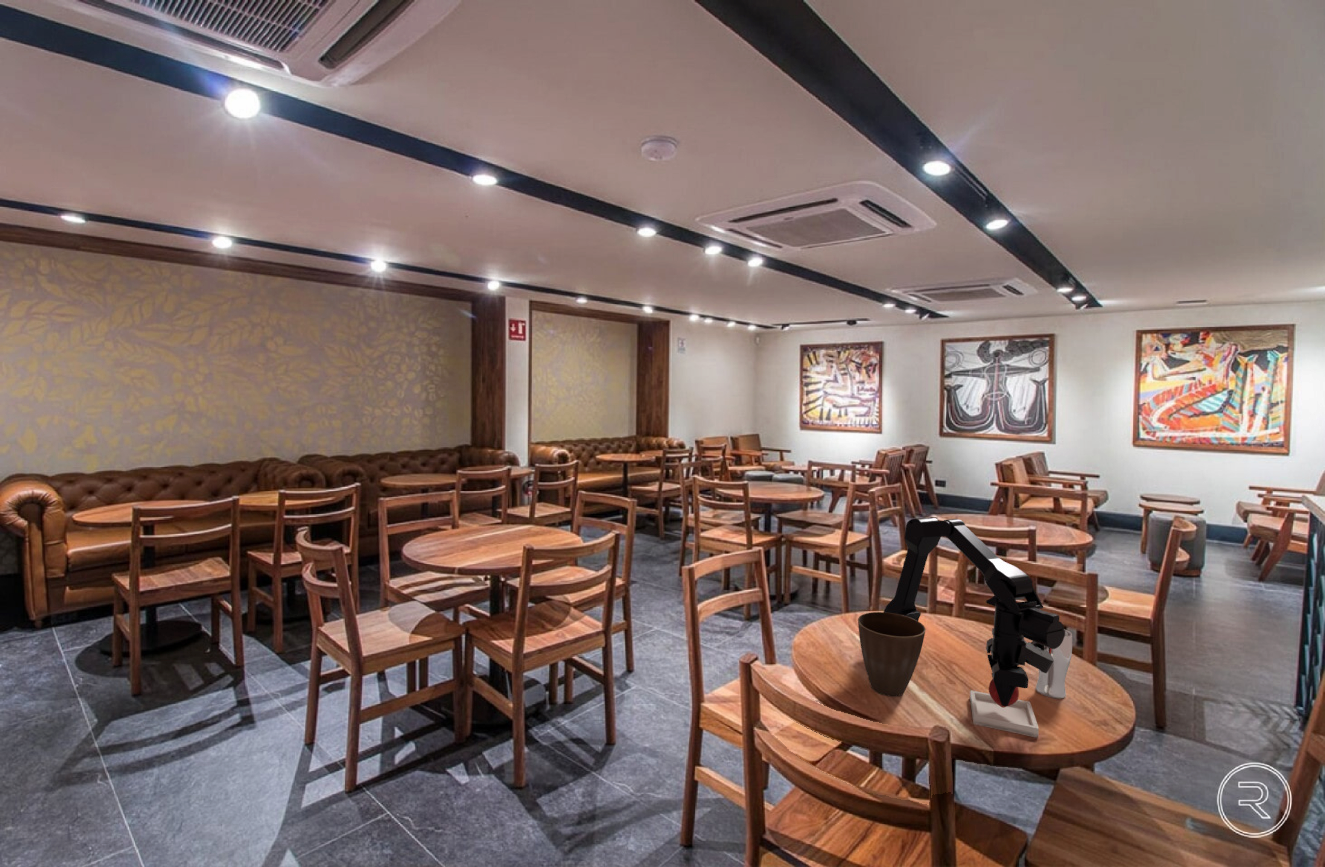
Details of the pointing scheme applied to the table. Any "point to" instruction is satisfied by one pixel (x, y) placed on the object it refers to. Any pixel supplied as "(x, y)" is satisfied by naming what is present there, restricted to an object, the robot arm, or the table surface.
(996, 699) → the onion
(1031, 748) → the table surface
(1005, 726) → the dish
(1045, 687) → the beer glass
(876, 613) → the plant pot
